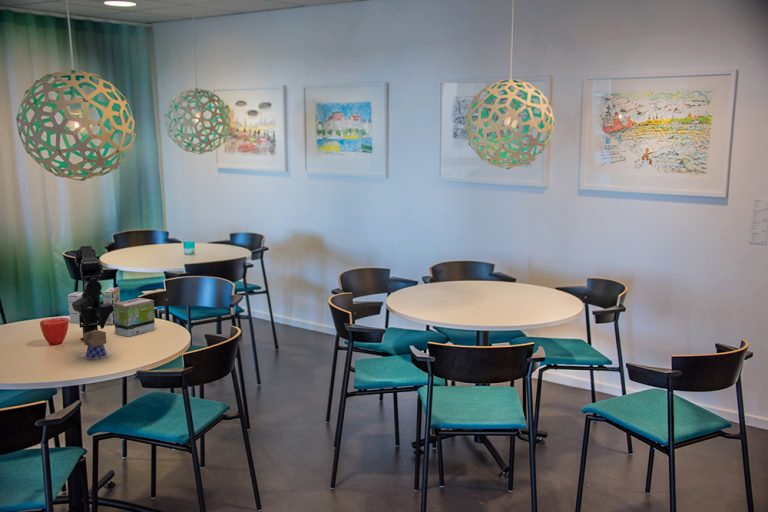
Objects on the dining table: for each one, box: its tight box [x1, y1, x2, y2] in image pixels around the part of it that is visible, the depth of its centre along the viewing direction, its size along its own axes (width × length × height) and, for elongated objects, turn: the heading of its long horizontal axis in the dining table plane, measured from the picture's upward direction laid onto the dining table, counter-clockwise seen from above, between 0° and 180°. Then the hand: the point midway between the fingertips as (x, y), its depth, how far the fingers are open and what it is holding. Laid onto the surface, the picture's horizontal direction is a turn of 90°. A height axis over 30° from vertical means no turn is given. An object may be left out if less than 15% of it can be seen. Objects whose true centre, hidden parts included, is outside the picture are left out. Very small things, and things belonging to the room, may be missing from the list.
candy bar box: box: [102, 287, 121, 326], centre depth 333 cm, size 11×5×16 cm, turn 5°
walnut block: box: [83, 329, 107, 347], centre depth 283 cm, size 6×6×5 cm
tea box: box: [114, 297, 156, 338], centre depth 317 cm, size 15×10×15 cm
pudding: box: [80, 344, 113, 360], centre depth 284 cm, size 12×12×5 cm
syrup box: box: [67, 291, 83, 324], centre depth 334 cm, size 6×6×14 cm
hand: (94, 327), depth 282 cm, fingers open, 9 cm apart
